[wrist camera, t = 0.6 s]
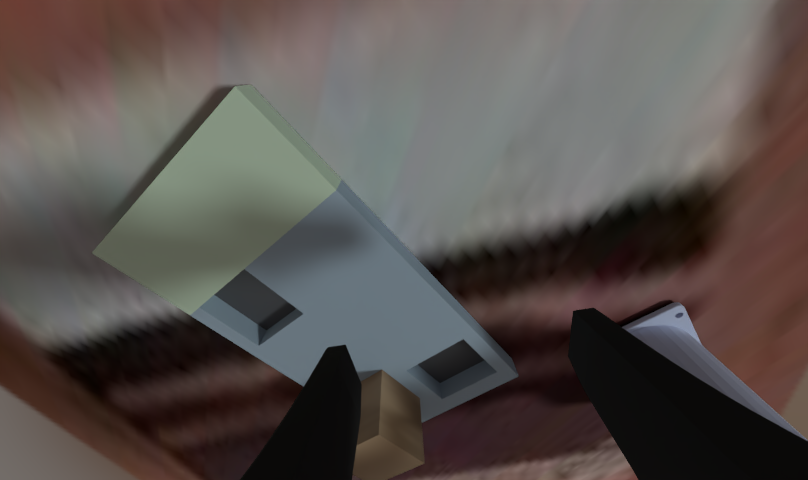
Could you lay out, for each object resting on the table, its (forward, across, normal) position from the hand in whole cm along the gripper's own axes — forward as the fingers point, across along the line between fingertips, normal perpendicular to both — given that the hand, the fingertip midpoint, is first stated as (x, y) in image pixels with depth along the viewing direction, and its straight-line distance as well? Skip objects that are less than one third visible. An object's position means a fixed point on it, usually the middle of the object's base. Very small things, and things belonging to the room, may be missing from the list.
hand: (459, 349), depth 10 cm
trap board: (+9, +7, +5) cm, 13 cm away
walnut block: (+8, +6, +13) cm, 17 cm away
